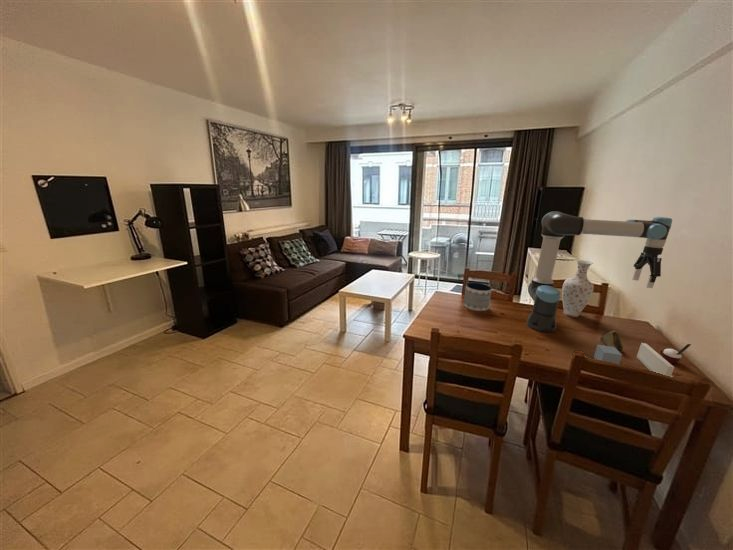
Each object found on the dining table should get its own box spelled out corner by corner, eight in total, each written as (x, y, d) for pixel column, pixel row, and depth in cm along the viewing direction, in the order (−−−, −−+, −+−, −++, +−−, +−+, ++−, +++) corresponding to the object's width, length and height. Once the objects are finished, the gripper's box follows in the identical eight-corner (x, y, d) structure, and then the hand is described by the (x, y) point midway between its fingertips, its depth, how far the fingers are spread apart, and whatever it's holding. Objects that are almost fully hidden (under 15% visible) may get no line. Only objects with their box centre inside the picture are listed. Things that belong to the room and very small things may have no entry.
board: (662, 382, 128) (668, 366, 126) (636, 357, 147) (641, 342, 144) (679, 385, 127) (686, 369, 124) (651, 359, 145) (656, 345, 143)
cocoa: (656, 356, 149) (662, 334, 146) (671, 358, 148) (678, 335, 145) (669, 366, 140) (676, 342, 137) (685, 368, 139) (693, 344, 136)
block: (600, 365, 139) (604, 352, 137) (593, 357, 146) (597, 344, 144) (617, 368, 138) (622, 354, 136) (610, 359, 144) (614, 347, 142)
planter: (461, 301, 210) (464, 281, 206) (485, 303, 208) (488, 283, 204) (465, 310, 195) (468, 289, 191) (491, 312, 193) (494, 291, 189)
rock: (594, 334, 163) (599, 340, 154) (608, 324, 160) (614, 330, 151) (610, 349, 161) (617, 356, 152) (626, 340, 158) (633, 346, 149)
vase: (552, 312, 195) (565, 260, 184) (561, 306, 205) (573, 257, 194) (581, 321, 183) (596, 266, 173) (589, 315, 193) (604, 262, 183)
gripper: (678, 252, 149) (664, 292, 155) (648, 242, 172) (637, 277, 178) (660, 250, 151) (647, 290, 157) (633, 241, 174) (622, 276, 180)
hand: (641, 283), depth 168 cm, fingers open, 13 cm apart
